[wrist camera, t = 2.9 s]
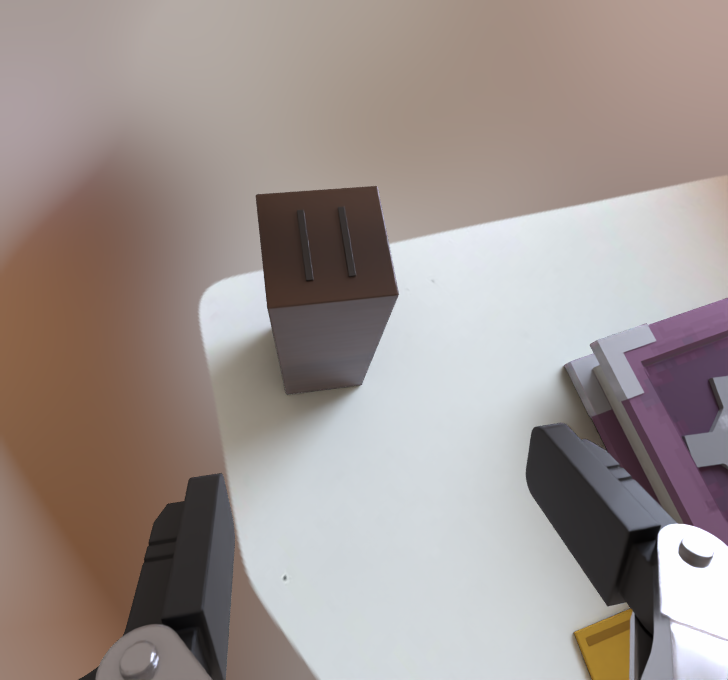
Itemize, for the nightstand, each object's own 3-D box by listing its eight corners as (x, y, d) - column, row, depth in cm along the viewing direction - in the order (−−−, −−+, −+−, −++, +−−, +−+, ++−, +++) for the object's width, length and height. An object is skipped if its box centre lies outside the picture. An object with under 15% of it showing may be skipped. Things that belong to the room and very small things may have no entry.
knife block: (361, 385, 35) (400, 293, 20) (286, 395, 35) (267, 307, 19) (350, 315, 37) (378, 183, 22) (278, 323, 36) (255, 192, 21)
